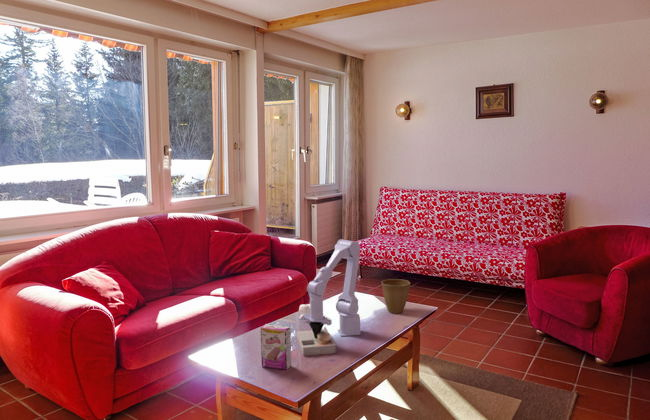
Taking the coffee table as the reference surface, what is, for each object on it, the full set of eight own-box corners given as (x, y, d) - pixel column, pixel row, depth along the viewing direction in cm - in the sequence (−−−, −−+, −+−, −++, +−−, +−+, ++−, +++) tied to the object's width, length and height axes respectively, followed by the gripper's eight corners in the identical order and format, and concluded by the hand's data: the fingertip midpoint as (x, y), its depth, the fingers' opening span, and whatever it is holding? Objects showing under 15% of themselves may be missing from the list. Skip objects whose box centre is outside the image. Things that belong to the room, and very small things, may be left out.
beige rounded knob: (329, 339, 226) (329, 331, 226) (330, 344, 221) (330, 336, 221) (317, 339, 226) (317, 332, 226) (317, 344, 221) (317, 336, 220)
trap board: (325, 333, 240) (325, 326, 239) (336, 352, 216) (336, 345, 216) (296, 335, 237) (296, 328, 237) (303, 355, 214) (303, 347, 213)
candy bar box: (261, 367, 203) (259, 327, 201) (266, 362, 208) (265, 323, 206) (287, 370, 200) (285, 330, 198) (291, 365, 204) (290, 326, 202)
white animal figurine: (306, 320, 268) (292, 317, 255) (309, 303, 270) (295, 300, 257) (321, 322, 264) (307, 320, 251) (323, 305, 266) (310, 302, 253)
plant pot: (412, 315, 262) (412, 285, 260) (383, 316, 262) (382, 286, 260) (407, 307, 277) (407, 278, 275) (380, 307, 277) (380, 278, 275)
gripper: (297, 307, 226) (298, 337, 227) (324, 313, 217) (325, 343, 219) (307, 303, 231) (308, 332, 233) (334, 308, 223) (334, 338, 225)
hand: (317, 337), depth 226 cm, fingers closed
